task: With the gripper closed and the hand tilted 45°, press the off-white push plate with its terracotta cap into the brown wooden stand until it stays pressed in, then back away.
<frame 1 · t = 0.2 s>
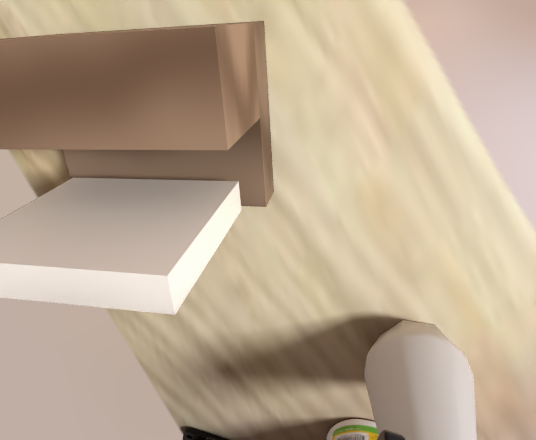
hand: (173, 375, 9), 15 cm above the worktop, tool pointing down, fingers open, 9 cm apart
salt shaker: (412, 343, 26), on the worktop
brown wooden stand: (168, 110, 22), on the worktop
button plate: (114, 240, 18), point 7 cm above the worktop, slide at 0.0 cm
supplement bottle: (363, 439, 31), on the worktop
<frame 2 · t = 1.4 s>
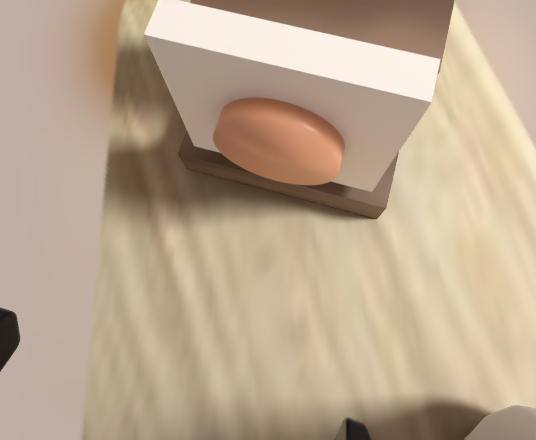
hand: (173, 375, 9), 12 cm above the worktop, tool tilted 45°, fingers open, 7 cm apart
brown wooden stand: (300, 122, 24), on the worktop
button plate: (283, 124, 16), point 7 cm above the worktop, slide at 0.0 cm
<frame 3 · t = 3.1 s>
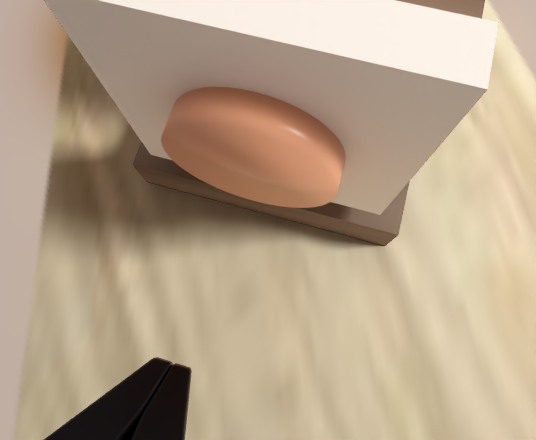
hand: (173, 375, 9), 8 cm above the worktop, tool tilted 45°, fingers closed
brown wooden stand: (289, 125, 20), on the worktop
button plate: (260, 126, 12), point 7 cm above the worktop, slide at 0.0 cm
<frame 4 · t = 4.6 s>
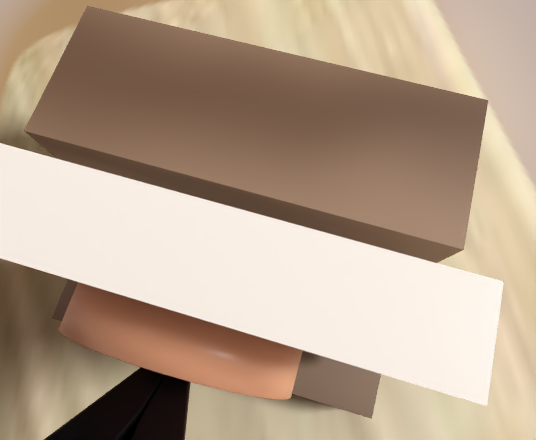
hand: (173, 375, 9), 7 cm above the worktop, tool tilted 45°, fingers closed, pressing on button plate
brown wooden stand: (249, 249, 17), on the worktop
button plate: (193, 304, 9), point 7 cm above the worktop, slide at 1.1 cm, touching gripper
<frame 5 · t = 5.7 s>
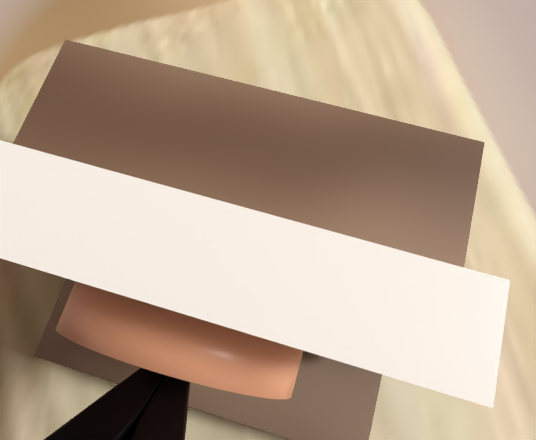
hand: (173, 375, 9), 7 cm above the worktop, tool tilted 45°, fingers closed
brown wooden stand: (240, 279, 16), on the worktop
button plate: (192, 302, 9), point 7 cm above the worktop, slide at 2.5 cm
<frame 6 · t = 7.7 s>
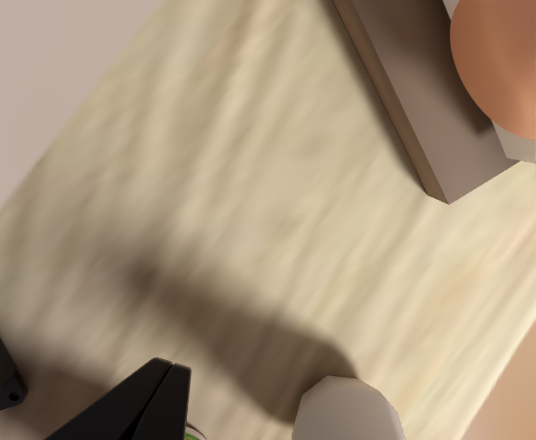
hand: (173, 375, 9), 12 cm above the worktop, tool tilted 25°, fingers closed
salt shaker: (333, 402, 24), on the worktop
brown wooden stand: (464, 46, 19), on the worktop
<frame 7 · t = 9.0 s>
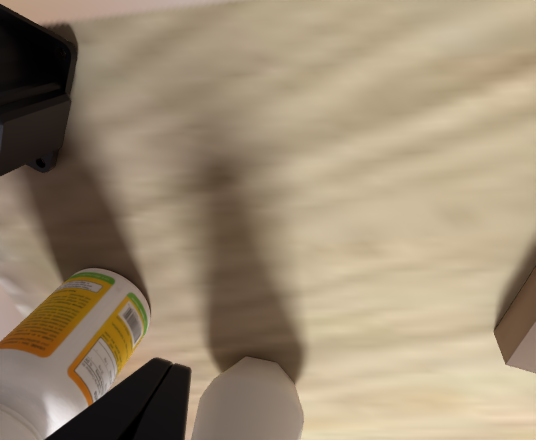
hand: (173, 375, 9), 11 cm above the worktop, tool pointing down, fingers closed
salt shaker: (261, 379, 25), on the worktop
supplement bottle: (112, 301, 24), on the worktop
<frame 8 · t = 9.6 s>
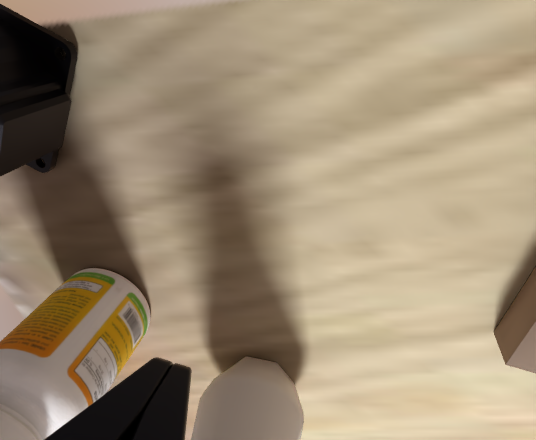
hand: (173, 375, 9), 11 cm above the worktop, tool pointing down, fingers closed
salt shaker: (261, 379, 25), on the worktop
supplement bottle: (112, 301, 24), on the worktop
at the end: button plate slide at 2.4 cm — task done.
